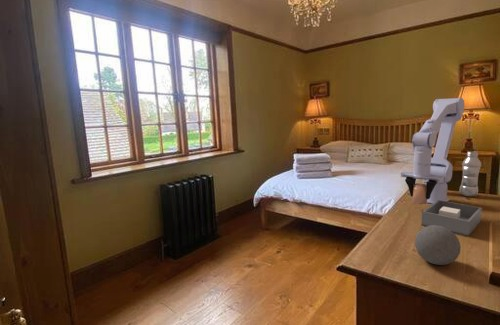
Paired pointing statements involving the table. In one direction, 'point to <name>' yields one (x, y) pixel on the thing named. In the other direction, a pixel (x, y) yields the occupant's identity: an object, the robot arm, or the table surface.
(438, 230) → the decorative ball
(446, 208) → the cube
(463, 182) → the plastic bottle
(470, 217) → the box
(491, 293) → the table surface
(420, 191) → the brown egg
